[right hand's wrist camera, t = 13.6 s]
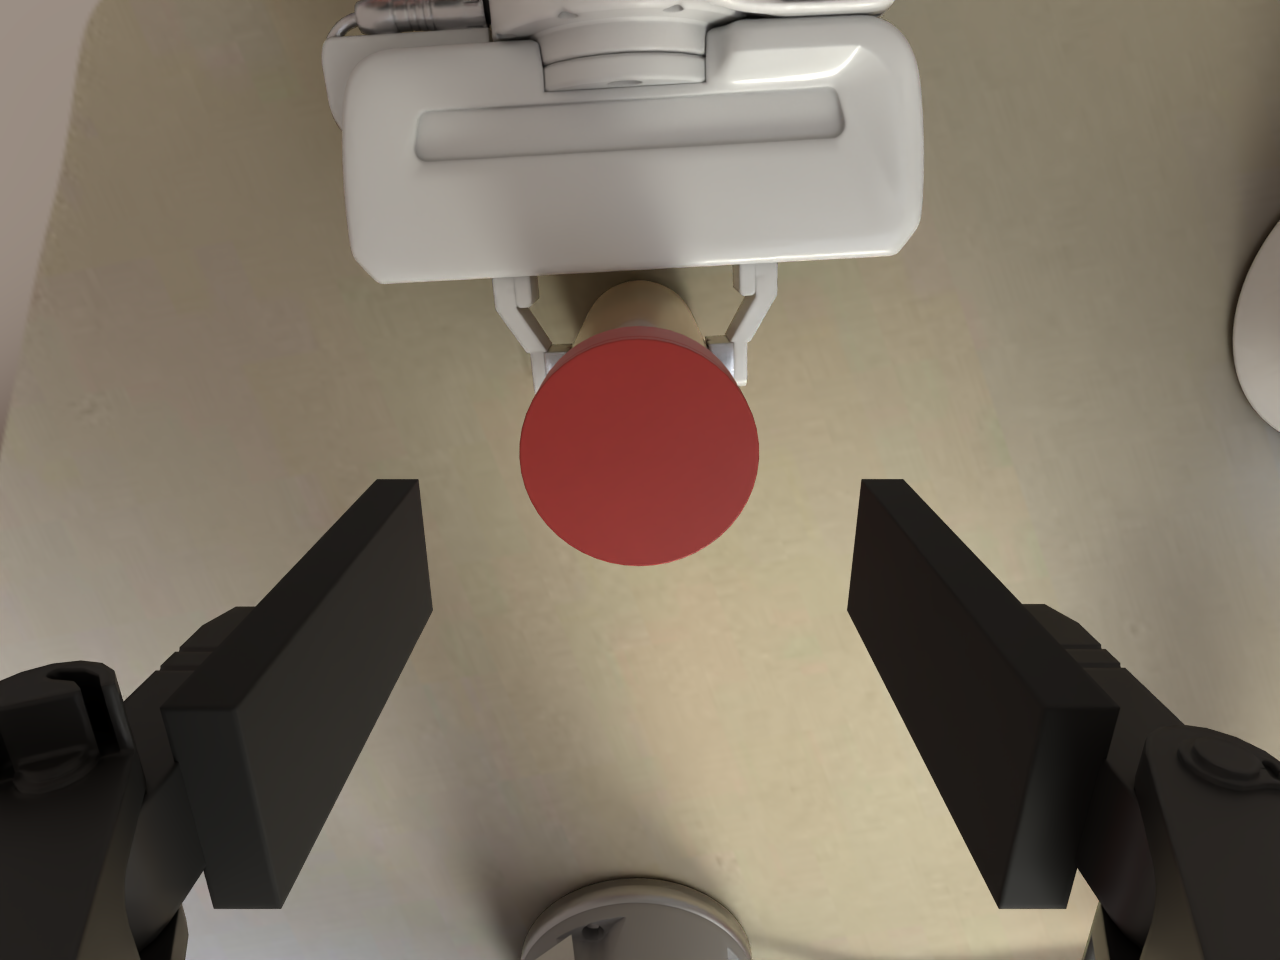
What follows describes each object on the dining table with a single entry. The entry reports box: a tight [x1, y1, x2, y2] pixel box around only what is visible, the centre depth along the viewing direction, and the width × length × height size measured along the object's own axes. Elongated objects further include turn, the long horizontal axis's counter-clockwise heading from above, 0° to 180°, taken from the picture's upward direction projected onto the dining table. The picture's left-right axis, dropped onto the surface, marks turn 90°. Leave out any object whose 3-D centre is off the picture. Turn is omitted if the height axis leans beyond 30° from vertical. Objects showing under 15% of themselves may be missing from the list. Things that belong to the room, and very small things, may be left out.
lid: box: [520, 326, 759, 566], centre depth 20 cm, size 6×6×2 cm
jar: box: [571, 280, 708, 349], centre depth 27 cm, size 5×5×17 cm
